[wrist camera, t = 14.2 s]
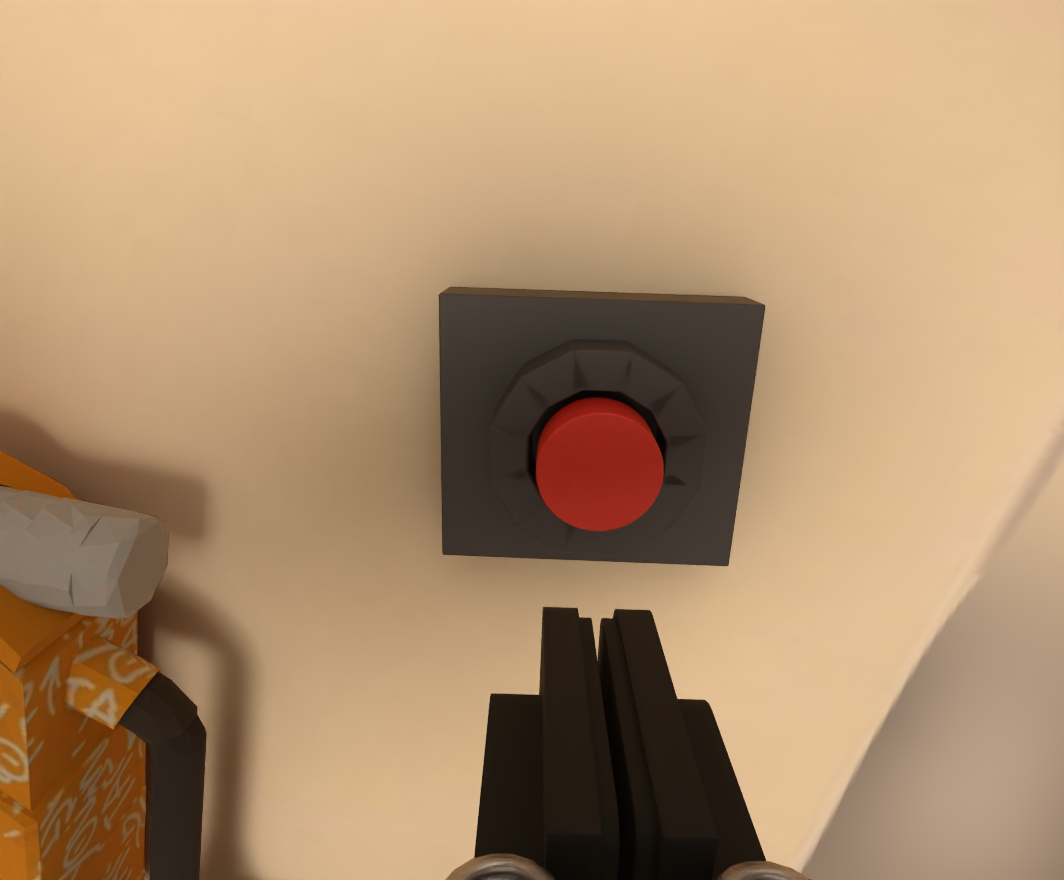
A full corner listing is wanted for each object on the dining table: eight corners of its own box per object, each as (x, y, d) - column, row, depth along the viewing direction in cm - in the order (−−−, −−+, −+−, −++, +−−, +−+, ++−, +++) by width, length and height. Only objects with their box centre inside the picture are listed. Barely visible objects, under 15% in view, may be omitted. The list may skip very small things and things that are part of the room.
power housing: (451, 527, 25) (433, 582, 21) (448, 286, 22) (428, 300, 18) (713, 537, 25) (743, 594, 21) (745, 296, 22) (786, 312, 18)
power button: (535, 504, 21) (534, 529, 19) (539, 394, 20) (537, 410, 18) (649, 509, 21) (658, 534, 19) (660, 398, 19) (670, 415, 18)
